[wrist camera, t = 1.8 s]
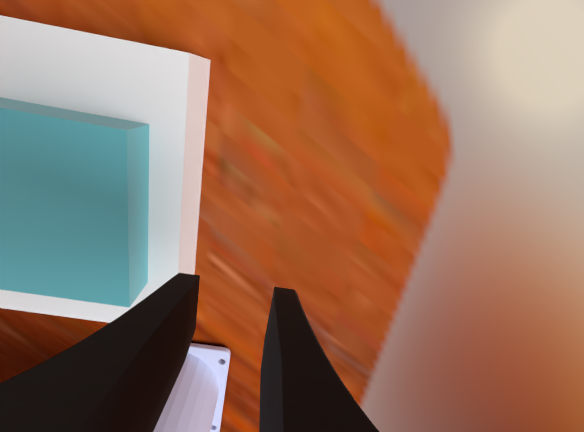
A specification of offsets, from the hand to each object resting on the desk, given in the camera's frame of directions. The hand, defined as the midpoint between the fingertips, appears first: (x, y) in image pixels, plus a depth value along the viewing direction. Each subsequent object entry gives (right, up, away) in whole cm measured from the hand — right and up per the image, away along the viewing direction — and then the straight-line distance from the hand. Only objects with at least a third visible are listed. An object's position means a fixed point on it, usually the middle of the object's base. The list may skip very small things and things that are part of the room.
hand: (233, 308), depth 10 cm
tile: (-8, +3, +5) cm, 10 cm away
